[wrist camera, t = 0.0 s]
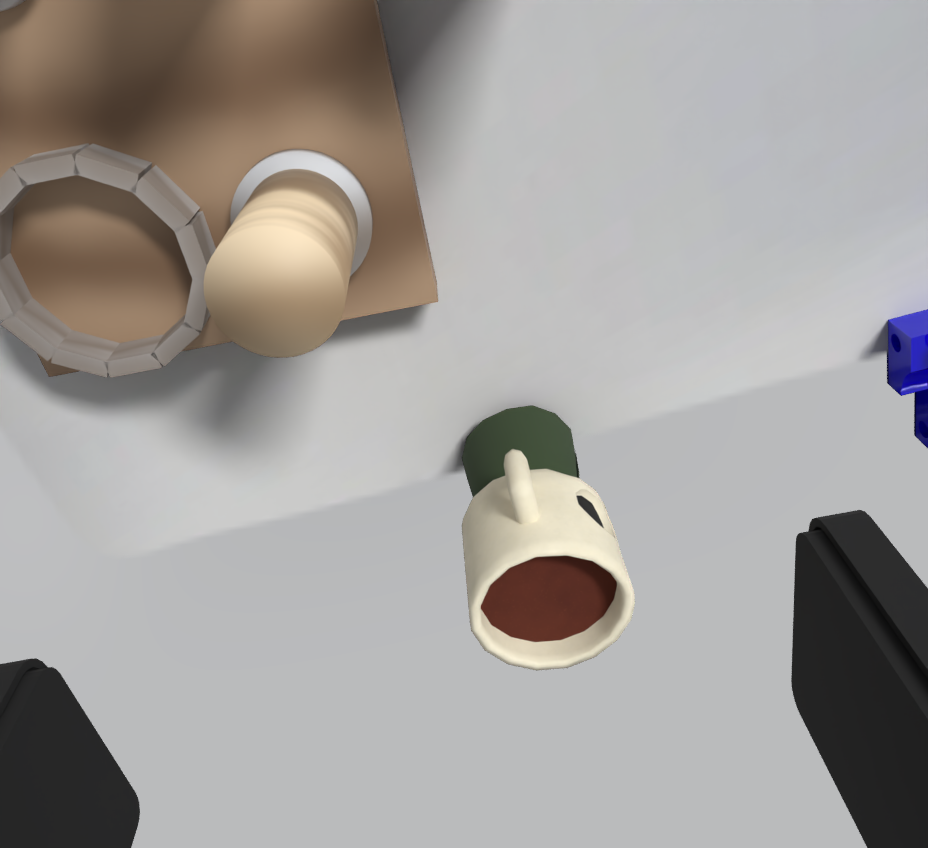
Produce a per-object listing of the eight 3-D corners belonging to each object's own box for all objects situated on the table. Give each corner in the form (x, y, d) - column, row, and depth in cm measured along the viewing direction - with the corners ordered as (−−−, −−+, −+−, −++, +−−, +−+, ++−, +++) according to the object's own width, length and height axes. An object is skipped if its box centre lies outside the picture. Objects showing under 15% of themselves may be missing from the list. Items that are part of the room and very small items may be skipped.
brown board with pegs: (-204, -209, 29) (-515, -286, 20) (307, -327, 29) (252, -469, 19) (67, 354, 41) (-41, 484, 31) (436, 282, 40) (444, 392, 30)
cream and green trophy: (596, 509, 48) (652, 680, 37) (479, 537, 49) (499, 714, 37) (561, 347, 43) (615, 491, 31) (429, 381, 43) (436, 534, 32)
